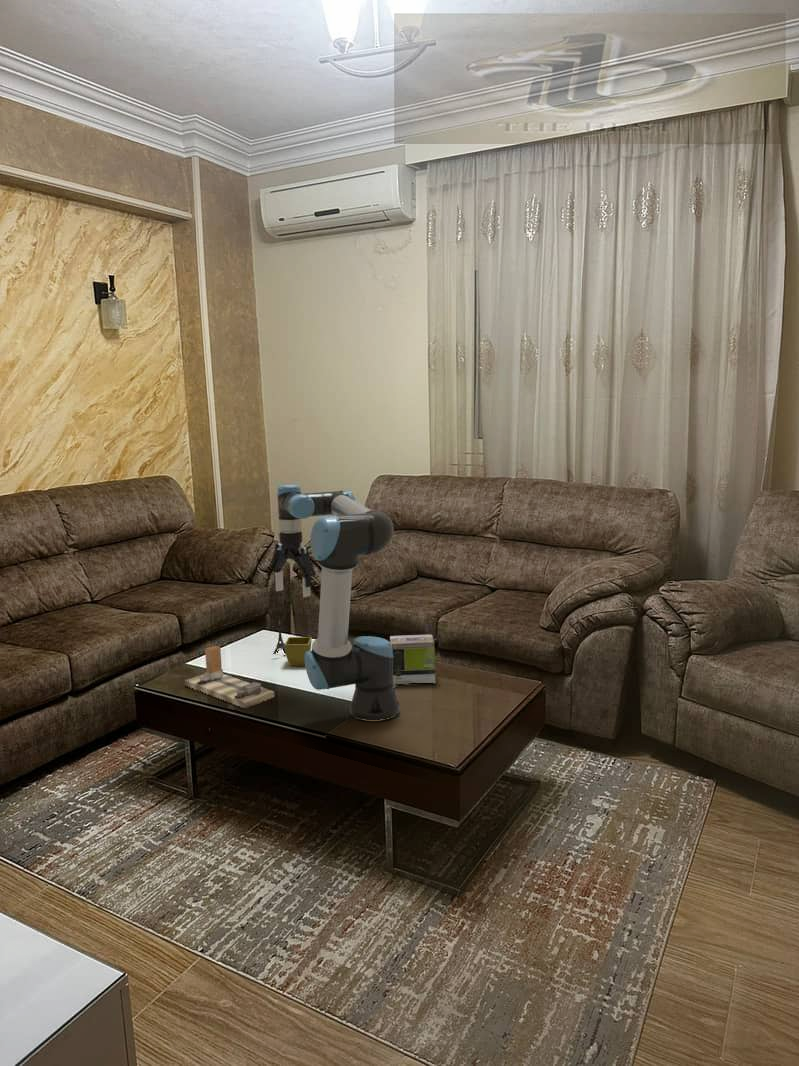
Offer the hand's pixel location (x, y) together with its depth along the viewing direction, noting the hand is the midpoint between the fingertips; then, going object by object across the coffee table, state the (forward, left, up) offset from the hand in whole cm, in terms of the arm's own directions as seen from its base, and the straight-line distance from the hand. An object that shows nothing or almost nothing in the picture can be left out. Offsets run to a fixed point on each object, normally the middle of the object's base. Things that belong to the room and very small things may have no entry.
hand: (293, 593), depth 260 cm
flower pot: (+12, -12, -31) cm, 35 cm away
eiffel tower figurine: (+28, -17, -31) cm, 46 cm away
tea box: (-31, -25, -31) cm, 50 cm away
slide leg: (+19, +22, -28) cm, 40 cm away
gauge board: (+10, +21, -31) cm, 39 cm away
